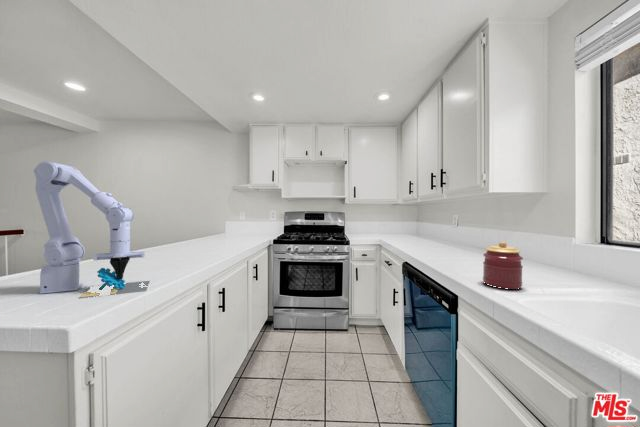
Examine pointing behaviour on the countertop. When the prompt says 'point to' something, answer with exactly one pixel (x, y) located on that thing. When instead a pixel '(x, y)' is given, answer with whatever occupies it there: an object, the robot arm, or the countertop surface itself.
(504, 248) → the canister
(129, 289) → the mat
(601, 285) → the countertop surface
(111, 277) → the gear
